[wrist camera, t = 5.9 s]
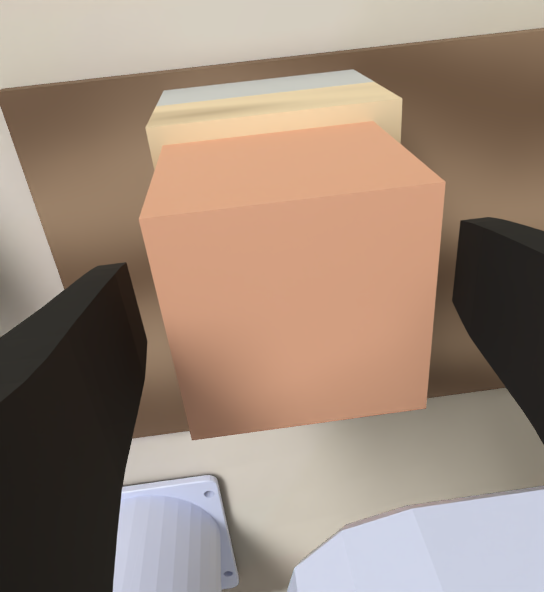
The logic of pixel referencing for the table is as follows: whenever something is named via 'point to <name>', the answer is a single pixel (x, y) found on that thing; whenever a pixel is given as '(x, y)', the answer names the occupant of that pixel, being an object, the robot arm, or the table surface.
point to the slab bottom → (261, 87)
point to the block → (295, 275)
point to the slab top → (274, 114)
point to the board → (367, 61)
